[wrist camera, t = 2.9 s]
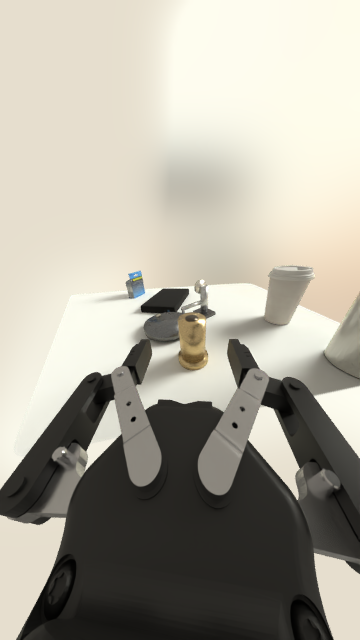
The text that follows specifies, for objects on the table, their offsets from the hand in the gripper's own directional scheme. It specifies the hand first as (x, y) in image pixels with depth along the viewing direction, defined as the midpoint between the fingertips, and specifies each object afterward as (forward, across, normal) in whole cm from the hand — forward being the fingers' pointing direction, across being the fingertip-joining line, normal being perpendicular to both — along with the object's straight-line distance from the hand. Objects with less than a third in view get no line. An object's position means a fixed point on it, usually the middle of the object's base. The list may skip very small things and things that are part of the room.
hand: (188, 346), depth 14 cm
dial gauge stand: (+31, -2, +13) cm, 33 cm away
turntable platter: (+24, +7, +13) cm, 28 cm away
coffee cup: (+28, -26, +13) cm, 40 cm away
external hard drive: (+47, +11, +13) cm, 50 cm away
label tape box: (+58, +30, +13) cm, 67 cm away
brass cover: (+12, 0, +13) cm, 18 cm away
